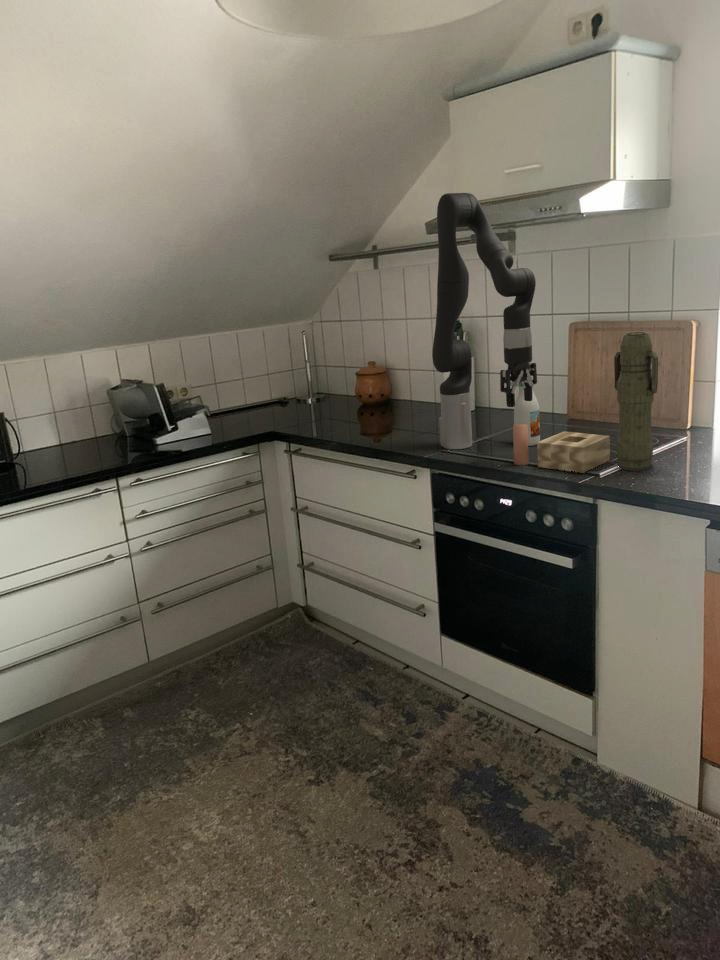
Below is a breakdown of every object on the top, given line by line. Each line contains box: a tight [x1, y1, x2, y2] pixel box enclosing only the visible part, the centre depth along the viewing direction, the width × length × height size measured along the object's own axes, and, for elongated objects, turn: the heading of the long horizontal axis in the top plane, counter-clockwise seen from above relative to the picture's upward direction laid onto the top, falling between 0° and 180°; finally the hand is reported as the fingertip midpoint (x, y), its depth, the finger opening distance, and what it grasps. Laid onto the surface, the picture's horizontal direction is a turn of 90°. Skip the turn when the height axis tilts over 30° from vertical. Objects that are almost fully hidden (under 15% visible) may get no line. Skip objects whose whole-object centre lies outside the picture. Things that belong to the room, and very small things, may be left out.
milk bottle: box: [513, 378, 541, 447], centre depth 229 cm, size 8×8×20 cm
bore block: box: [536, 431, 611, 474], centre depth 204 cm, size 14×14×7 cm
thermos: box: [613, 331, 659, 472], centre depth 193 cm, size 9×12×35 cm
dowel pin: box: [512, 424, 529, 466], centre depth 209 cm, size 4×4×11 cm
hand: (519, 403), depth 206 cm, fingers open, 8 cm apart
